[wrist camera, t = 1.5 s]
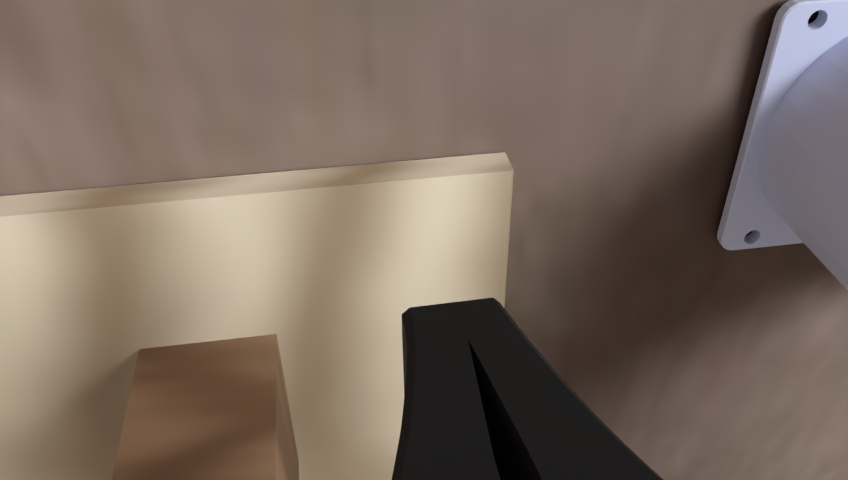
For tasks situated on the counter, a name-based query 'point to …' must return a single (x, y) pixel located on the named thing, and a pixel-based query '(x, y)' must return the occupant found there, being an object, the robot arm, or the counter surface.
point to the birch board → (238, 298)
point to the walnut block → (208, 414)
